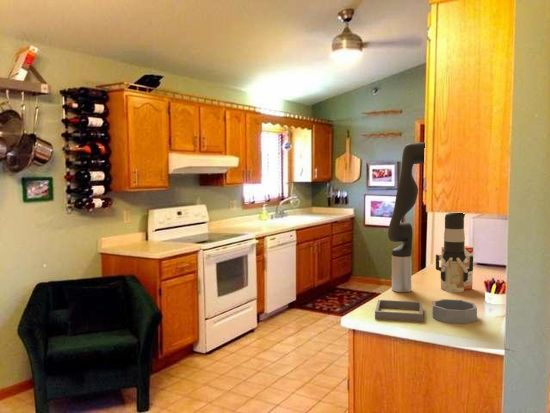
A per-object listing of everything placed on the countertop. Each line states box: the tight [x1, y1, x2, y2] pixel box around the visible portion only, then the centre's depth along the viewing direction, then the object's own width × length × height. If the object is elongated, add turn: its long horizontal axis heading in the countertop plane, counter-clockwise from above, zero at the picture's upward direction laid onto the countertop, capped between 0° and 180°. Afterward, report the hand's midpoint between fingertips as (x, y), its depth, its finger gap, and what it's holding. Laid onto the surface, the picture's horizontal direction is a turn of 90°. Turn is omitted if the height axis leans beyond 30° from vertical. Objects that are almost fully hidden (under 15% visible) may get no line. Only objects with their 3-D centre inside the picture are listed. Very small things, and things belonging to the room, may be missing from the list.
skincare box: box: [443, 261, 465, 294], centre depth 186 cm, size 6×4×12 cm
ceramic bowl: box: [431, 298, 478, 325], centre depth 187 cm, size 16×16×5 cm
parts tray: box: [374, 299, 424, 323], centre depth 193 cm, size 18×18×3 cm
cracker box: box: [440, 245, 474, 291], centre depth 231 cm, size 14×6×21 cm, turn 101°
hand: (454, 281), depth 186 cm, fingers closed on skincare box, 7 cm apart
